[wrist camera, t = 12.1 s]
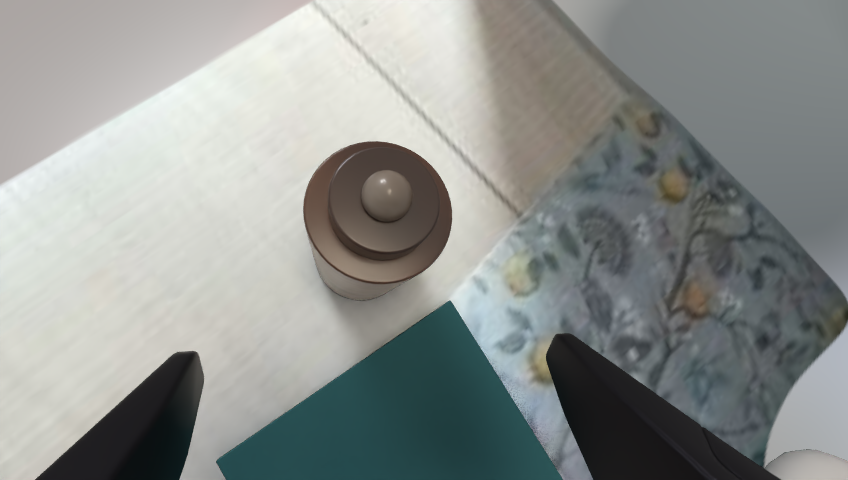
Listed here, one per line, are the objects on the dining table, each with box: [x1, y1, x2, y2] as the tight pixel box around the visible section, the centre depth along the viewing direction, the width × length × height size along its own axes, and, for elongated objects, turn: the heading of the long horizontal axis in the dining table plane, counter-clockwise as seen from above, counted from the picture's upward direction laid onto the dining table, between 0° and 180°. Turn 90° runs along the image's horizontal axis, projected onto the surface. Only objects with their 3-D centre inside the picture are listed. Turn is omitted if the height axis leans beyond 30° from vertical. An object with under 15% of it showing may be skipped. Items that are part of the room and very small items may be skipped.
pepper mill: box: [303, 141, 452, 300], centre depth 16 cm, size 5×5×11 cm
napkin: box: [216, 301, 563, 480], centre depth 19 cm, size 14×12×1 cm
